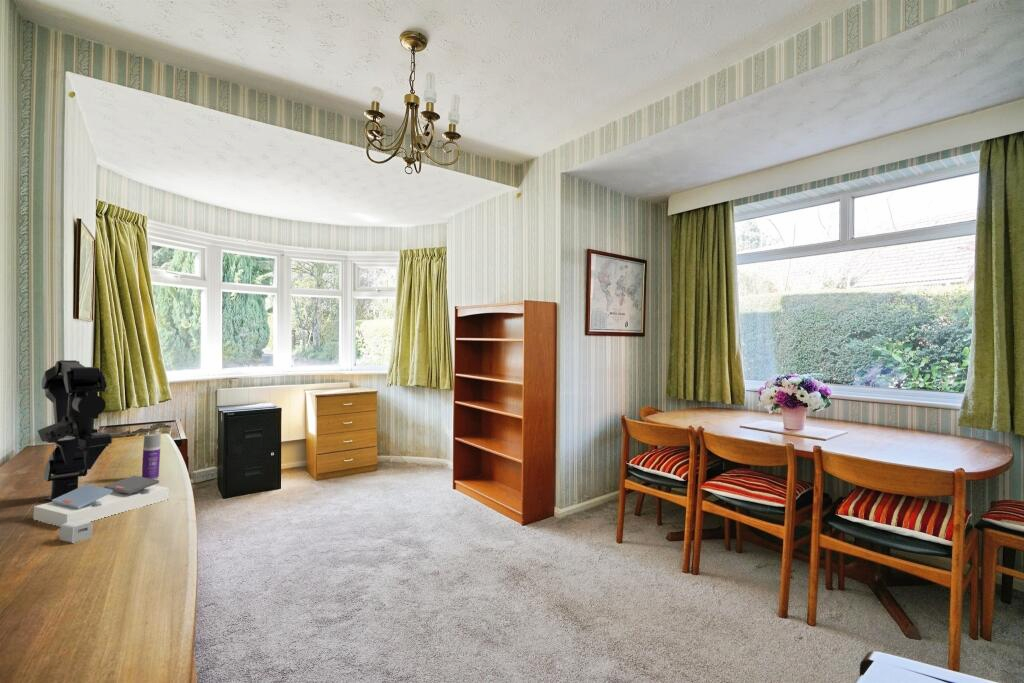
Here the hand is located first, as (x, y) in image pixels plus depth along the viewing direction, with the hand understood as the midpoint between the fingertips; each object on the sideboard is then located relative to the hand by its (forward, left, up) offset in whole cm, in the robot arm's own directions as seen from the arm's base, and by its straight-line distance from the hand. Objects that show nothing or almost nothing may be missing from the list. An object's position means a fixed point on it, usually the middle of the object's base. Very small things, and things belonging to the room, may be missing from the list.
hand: (77, 467), depth 131 cm
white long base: (+7, +3, -12) cm, 14 cm away
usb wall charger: (+23, -12, -12) cm, 28 cm away
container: (-13, +28, -12) cm, 33 cm away
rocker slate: (+7, -2, -7) cm, 10 cm away
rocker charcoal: (+7, +10, -7) cm, 14 cm away
